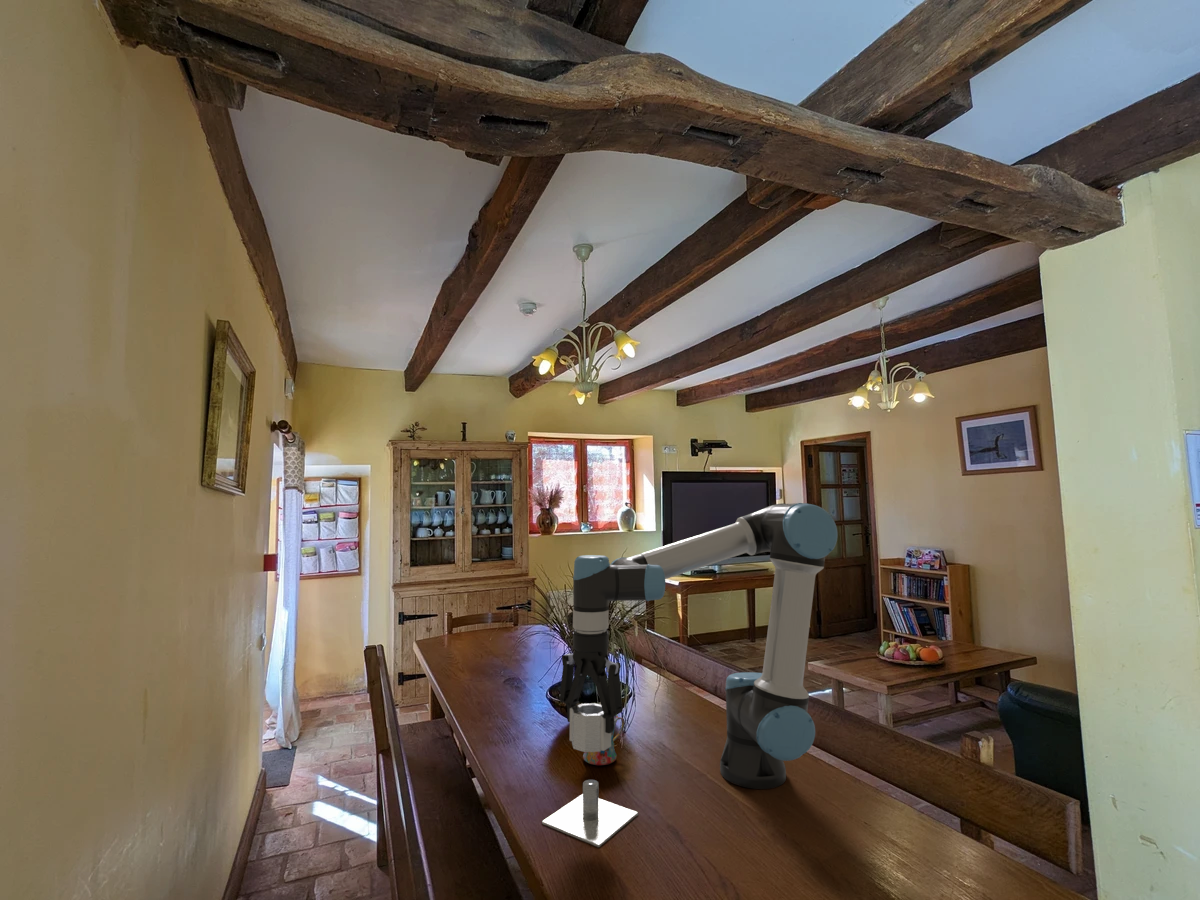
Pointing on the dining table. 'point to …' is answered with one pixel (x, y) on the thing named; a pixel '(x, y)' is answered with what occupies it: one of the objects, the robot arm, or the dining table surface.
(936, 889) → the dining table surface
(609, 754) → the mug
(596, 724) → the grey hollow octagonal block
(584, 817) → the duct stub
